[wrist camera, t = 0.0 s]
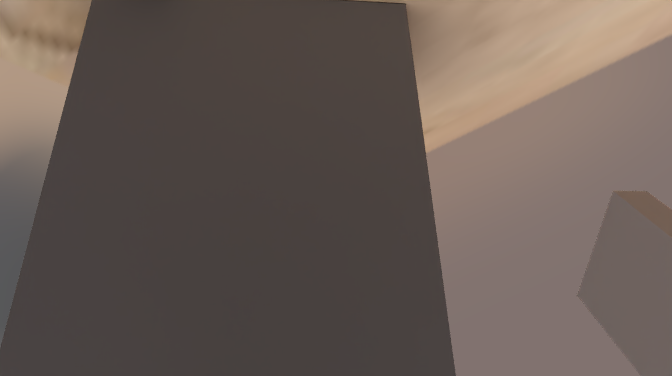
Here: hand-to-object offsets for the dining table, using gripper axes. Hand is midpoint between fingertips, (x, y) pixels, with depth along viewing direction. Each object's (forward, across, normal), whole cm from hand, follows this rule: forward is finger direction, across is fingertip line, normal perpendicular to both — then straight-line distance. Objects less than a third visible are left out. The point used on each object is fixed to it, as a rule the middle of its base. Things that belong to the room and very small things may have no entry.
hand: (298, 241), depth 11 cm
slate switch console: (+18, -2, 0) cm, 18 cm away
